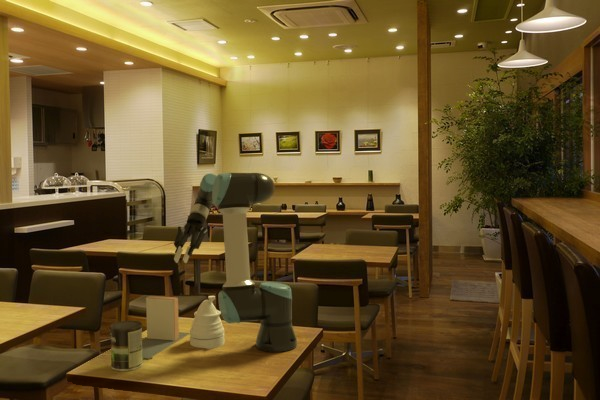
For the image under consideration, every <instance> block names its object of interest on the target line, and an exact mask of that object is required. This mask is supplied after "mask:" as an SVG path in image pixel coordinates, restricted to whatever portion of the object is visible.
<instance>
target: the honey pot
mask: <svg viewBox="0 0 600 400" xmlns="http://www.w3.org/2000/svg"><path fill="white" fill-rule="evenodd" d="M215 299H216V296H215V295H208V298H207V299H204V300H203V301H202V302H201V303H200V305H199V306H198V308H197V311H195V312H194V313H193V315H194V318H193V321H192V325H191V327H190V328H191V329H190V330H189V333H190V334H189V344H190V346H192V347H195V348H201V349H204V350H210V349H217V348H219V347H222V346H224V345H225V342H226V340H225V328H224V326H223V323H222V319H221V317H220V315H221V312H220V309H219V310H218V309H217V308H216V306H215V305H214V303H213V302H214V301H215Z"/></svg>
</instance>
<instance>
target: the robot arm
mask: <svg viewBox="0 0 600 400" xmlns="http://www.w3.org/2000/svg"><path fill="white" fill-rule="evenodd" d="M275 186H276V185H275V182H274V180H273V179H272V178H271V177H270V176H269V175H267V174H265V173H260V172H226V173H220V174H218V175H216V174H213V173H206V174H204V175H203V177H202V179H201V181H200V184H199V188H198V192H197V195H196V198H195V200H194V203H193V205H192V207H191V210H190V212H189V214H188V218H187V219H186V224H184V226H178V227H177V230H178V231H177V234H176V236H175V239H174V242H173V246H174V247H175V251H174V254H175V255H174V257H173V260H174V262H175V264H178V263H179V261H180V258H181V255H182V253H183V250H184V249H183V247H184V246H185V244H186V242H187V241H188V239H189V238H190V237H191V239H190V242H189V243H190V244H189V246H187V247H186V249H185V252H184V256H183V258H182V261H183V263H184V264H187V263H188V261H189V258H190V257H191V256H192V255H193V252H194V250H195V249H197V250H199V248H200V247H201V244H202V243H203V240H204V238H205V236H206V234H208V232H209V231H208V229H207V227H204V226H205V224H206V221H207V218H208V216H209V214H210V211H211V208H212V206H213V205H214V206H215V207H217V211H218V212H219V213H220V214H221V215H222V225H223V242H224V243H223V244H224V257H225V258H224V259H225V274H226V275H225V276H226V281H225V283H224V284H223V285H222V290H220V291H219V293H218V295H217V297H218V298H217V302H218V308H219V311H220V312H221V314H220V315H221V317H222V319H223V321H224V322H225V323H228V324H240V323H246V322H256V321H260V326H259V329H258V333H257V337H256V338H255V339H256V340H255V344H256V345H255V347H256V348H257V349H258V350H260V351H263V352H270V353H271V352H272V353H278V352H280V353H281V352H287V351H291V350H293V349H295V348H296V347H297V346H298V343H297V341H298V340H297V336H296V333H295V329H294V327H293V309H292V308H293V296H292V289H291V287H290V285H287V284H285V283H280V282H275V281H264V282H261V283H260V284H259V287H256V283H255V282H254V281H253V280H252V279H251V268H250V251H249V237H248V220H247V213H248V212H249V211H250V209H251V205H257V204H262V203H266V202H267V201H269V200H271V198H272V197H273V196H274V193H275V190H276V187H275Z"/></svg>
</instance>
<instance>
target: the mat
mask: <svg viewBox="0 0 600 400" xmlns="http://www.w3.org/2000/svg"><path fill="white" fill-rule="evenodd" d="M188 335H190V332H182V331H181V332H180V331H179V339H177V340H176V341H170V340H159V339H148V338H147V336H146V337H145V338H142V360H152V359H153V357H154V356H156V355H158V354H159V353H161V352H162V351H164V350H166V349H168V348H169V347H171V346H172V345H174V344H176V343H177V342H179V341H181V340H183V338H185V337H187V336H188Z"/></svg>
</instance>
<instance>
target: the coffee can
mask: <svg viewBox="0 0 600 400" xmlns="http://www.w3.org/2000/svg"><path fill="white" fill-rule="evenodd" d="M109 329H110V354H111V355H110V361H111V363H110V364H111V366H110V368H111V370H114V371H115V372H130V371H135V370H138V369H140V368H141V367H142V366H143V364H144V363H143V359H142V340H143V323H142V322H141V321H138V320H122V321H117V322H115V323H111V325H109Z"/></svg>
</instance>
